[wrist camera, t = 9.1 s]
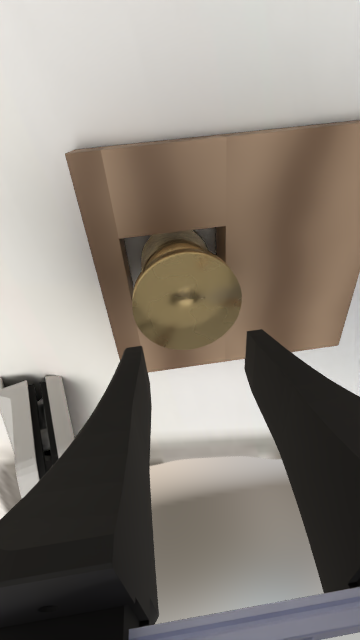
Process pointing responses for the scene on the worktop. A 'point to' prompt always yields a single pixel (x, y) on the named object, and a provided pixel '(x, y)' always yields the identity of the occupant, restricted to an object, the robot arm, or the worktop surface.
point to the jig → (234, 228)
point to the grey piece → (36, 427)
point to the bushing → (184, 292)
